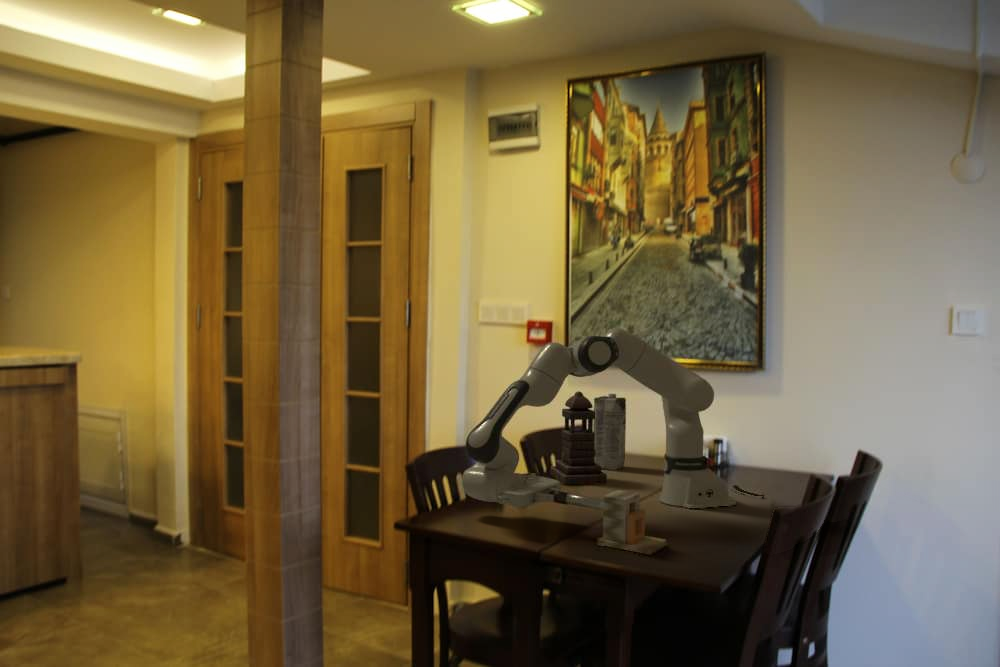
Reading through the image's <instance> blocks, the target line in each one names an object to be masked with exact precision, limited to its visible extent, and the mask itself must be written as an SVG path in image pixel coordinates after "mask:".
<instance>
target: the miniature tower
mask: <svg viewBox="0 0 1000 667" xmlns="http://www.w3.org/2000/svg"><path fill="white" fill-rule="evenodd" d="M564 406H565V407H568V408H562V409H561V413H562V414H561V417H562V418H564V429H561V438H562V440H561V441H562V443H561V445H562V451H561V452H562V454H561V457H562V458H561V459H556V460H555V465H554V466H553V465H551V466H550V468H549V469H550V470H549V471H550V472H549V473H550V476H551V475H552V478H554V479H555V480H558V481H559V482H561V485H563V486H576V485H575V484H584V485H596V484H595V483H598V484H599V483H605V484H607V482H608V481H607V479H608V478H607V477H608V475H607V474H606V473H605V472H603V471H602V469H601V466H600V465H598V464H596V463H595V458H594V457H595V451H596V450H595V442H594V440H595V433H594V432H593V422H594V419H595V411H594V409H593V408H594V405H593V404H592V403H591V401H590V400H589V398H587V397H586V396H585V395H584V394H583V392H582V391H580V390H579V391H576V392H575V393H574V395H572V396H570V397H569V398H568V399H567V400H566V401H565V404H564ZM577 420H579V421H581V428H579V429H578V428H577V429H576V428H575V427H576V426H575V424H576V423H575V422H576V421H577ZM572 484H573V485H572Z"/></svg>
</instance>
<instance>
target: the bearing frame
mask: <svg viewBox="0 0 1000 667" xmlns="http://www.w3.org/2000/svg"><path fill="white" fill-rule="evenodd" d="M603 499H604V505H603V510H602V511H603V516H602V517H603V518H602V520H603V521H602V536H601V537H599V538H597V546H598V545H601V546H600V547H603V546H608V547H613V548H619V549H624V550H630V551H635V552H640V553H646V554H651V553H653V552H654V551H656V550H658V549H660V548H661V547H662V546H664V545H666V546H667V539H665V538H659V537H654V536H650V535H649V536H647V535H644V538H643V539H641V540H639V541H637V542H636V543H634V544H629V543H626V542H627V514H630V513H632V512H634V511H636V510H638V509H640V493H639V492H633V491H627V490H621V489H620V490H619V489H617V490H615V491H612V492H610V493H608V494H607V493H606V494H605V495H603ZM635 532H636V524H635ZM608 547H607V548H608ZM613 548H612V549H613ZM660 550H661V549H660Z"/></svg>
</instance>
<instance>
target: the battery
mask: <svg viewBox="0 0 1000 667" xmlns="http://www.w3.org/2000/svg"><path fill="white" fill-rule="evenodd" d="M626 401H627V399H626V397H617V394H616V393H608V395H607V396H606V395H603V396H598V397H595V398H594V399H593V411H595V419H593V432H594V433H595V440H594V442H595V450H596V451H595V457H594V458H595V463H596V464H598V465H600V466H601V468H605V469H604V470H606V469H612V470H611V471H614V470H615V471H617V470H616V469H618V468H620V469H622V468H621V467H623V468H624V465H625V459H626V435H627V434H626V426H627V425H626V424H627V423H626V422H627V404H626ZM618 470H619V469H618Z"/></svg>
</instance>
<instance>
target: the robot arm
mask: <svg viewBox="0 0 1000 667" xmlns="http://www.w3.org/2000/svg"><path fill="white" fill-rule="evenodd" d="M612 365H613V366H615V367H617V368H618V369H619V370H620V371H622V372H623V373H625V374H627V375H628V376H629V377H631V378H632V379H634V380H636V382H638V383H640V384H641V385H643V386H644V387H645V388H648V389H649V390H651V391H653V392H654V393H656V394H658V395H659V396H661V401H662V409H663V416H664V422H665V453H664V456H663V473H664V476H663V483H662V487H661V492H660V496H659V501H660V502H661V503H664V504H666V505H670V506H671V505H672V506H675V507H681V506H682V507H681V508H686V507H687V508H686V509H690V508H693V509H692V510H695V509H694V508H700V509H707V508H706V507H714V508H717V507H716V506H724V505H735V504H737V501H736V499H735V498H733V497H732V496H731V495H729V490H728V486H727V483H726V481H725V480H723V479H722V478H721V477H720V476H719V475H718V474H717V473H715V472H714V471H713V470H711V469H710V468H709V467H712V466H714V465H715V460H714V459H712V458H710V457H709V458H708V457H707V456H705V455H704V427H703V425H702V423H701V418H700V414H699V412H701V413H702V412H704V411H706V410H707V409H709V408H710V407H711V406H712V404H713V402H714V399H715V391H714V388H713V386H712V385H711V384H710V383H709V382H708V381H707V380H706V379H705V378H703V377H702V376H700V375H699V374H697V373H695V372H694V371H692V370H691V369H689V368H687V367H685V366H684V365H682V364H681V363H679V362H677V361H676V360H674V359H672V358H671V357H669V356H667V355H665V354H664V353H663V352H661V351H659V349H657V348H655V347H654V346H653V345H651V344H649V343H648V342H647V341H645V340H644V339H643V338H640V337H639V336H637V335H636V334H634V333H631V332H629V331H627V330H626V329H622V328H620V327H613V328H611V329H609V330H608V331H606V332H605V333H604V335H603V336H602V335H601V336H600V335H591V336H587V337H584V338H581V339H579V340H577V341H575V342H573V343H570V344H569V345H568V346H565V345H564V344H562V343H558V342H555V341H554V342H553V341H552V342H548V343H546V344H545V345H544V346H543V347H542V348H541V349H540V350H539V352H538V353H537V354H536V355H535V357H534V358H533V359H532V360H531V363H530V364H529V365H528V368H527V369H526V371H525V372H524V374H523V375H522V376H521V377H520V378H519V379H518V380H515V381H513V382H512V383H511V384H510V385H509V386H508V387H507V388H506V389H505V390H504V392H503V393H502V394H501V396H500V397H498V400H497V401H496V402H495V404H494V405H492V407H491V409H490V410H489V412H488V413H486V414H485V417H484V418H483V419H482V420H481V421H480V422H479V423H478V424H477V425H476V426H475V427H473V428H472V430H471V431H470V432H469V433H468V435H467V437H466V441H465V451H466V454H467V456H468V457H469V458H470V459H471V460H473V461H475V463H474V464H473V465H472V466H471V467H469V468H467V469H465V470H464V472H463V473H462V477H461V485H462V488H463V490H464V493H466V495H467V496H469V497H471V498H472V499H476V500H479V501H483V502H489V503H493V502H496V503H498V504H500V505H505V506H510V507H514V508H519V509H521V508H524V509H525V508H527V507H529V506H532V505H535V504H538V503H543V502H544V503H547V502H548V503H554V501H556V496H555V495H554V494H548V493H549V491H550V490H555V491H561V492H564V490H563V491H562V483H561V482H560V481H558V480H557V479H555V478H554V479H553V478H549V477H545V476H539V475H536V473H533V472H532V473H531V472H526V473H520V472H519V473H518V472H516V469H517V467H518V464H519V461H520V453H519V450H518V449H517V447H516V446H515V445H514V444H512V443H511V442H510V441H509V440H507V439H506V438H505V437H504V436H503V431H504V429H505V428H506V426H507V425H508V423H509V422H510V421H511V420H512V419H513V417H514V415H515V414H516V412H517V411H518V410H519V409H521V408H522V407H525V406H529V407H536V408H538V407H539V408H540V407H545V406H547V405H549V404H551V403H552V401H554V400H555V398H556V397H557V395H558V393H559V392H560V390H561V388H562V386H563V384H564V382H565V380H566V378H568V377H569V375H570V376H572V377H576V378H577V377H579V378H583V377H592V376H595V375H597V374H600V373H602V372H605V371H606V370H607V369H609V368H610V367H611V366H612ZM735 506H736V505H735Z"/></svg>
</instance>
